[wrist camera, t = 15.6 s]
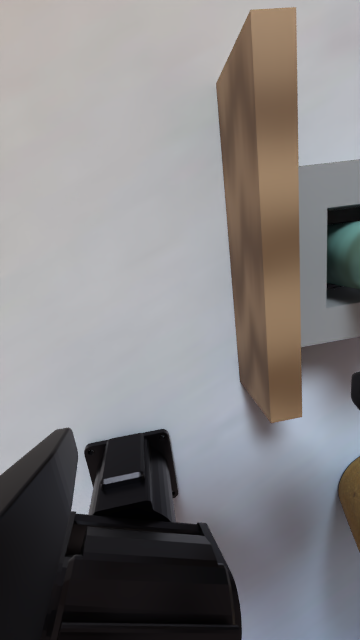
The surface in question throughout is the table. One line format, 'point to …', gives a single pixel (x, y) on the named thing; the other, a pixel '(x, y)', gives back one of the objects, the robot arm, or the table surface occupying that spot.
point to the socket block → (325, 252)
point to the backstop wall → (264, 207)
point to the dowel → (343, 254)
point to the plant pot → (351, 498)
